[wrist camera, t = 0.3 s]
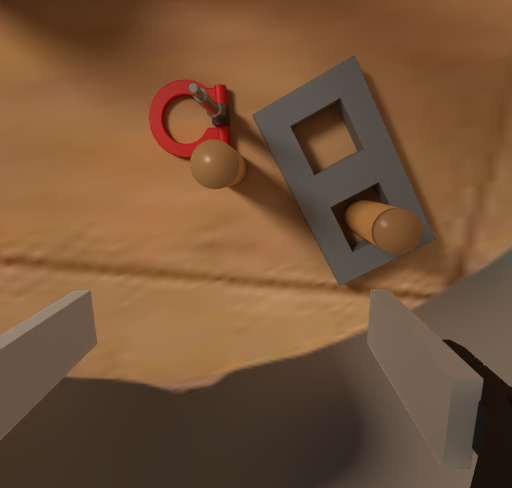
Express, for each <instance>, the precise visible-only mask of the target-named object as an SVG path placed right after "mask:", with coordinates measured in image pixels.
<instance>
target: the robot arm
mask: <svg viewBox="0 0 512 488" xmlns="http://www.w3.org/2000/svg"><path fill="white" fill-rule="evenodd" d="M96 344H97V337H96V330H95V322H94V315H93V307H92V299H91V292H90V290H74V291H73V292H71V293H69V294H68V295H66V296H64V297H63V298H61V299H59V300H58V301H56V302H54V303H53V304H51V305H49V306H48V307H46V308H44V309H43V310H41V311H39V312H38V313H36V314H34V315H33V316H31V317H29V318H28V319H26V320H24V321H23V322H21V323H19V324H18V325H16V326H14V327H13V328H11V329H9V330H8V331H6V332H4V333H3V334H1V335H0V440H1V439H2V438H3V437H4V436H5V435H6V434H7V433H8V432H9V431H10V430H11V429H12V428H13V427H14V426H15V425H16V424H17V423H18V422H19V421H20V420H21V419H22V418H23V417H24V416H25V415H26V414H27V413H28V412H29V411H30V410H31V409H32V408H33V407H34V406H35V405H36V404H37V403H38V402H39V401H40V400H41V399H42V398H43V397H44V396H45V395H46V394H47V393H48V392H49V391H50V390H51V389H52V388H53V387H54V386H55V385H56V384H57V383H58V382H59V381H60V380H61V379H62V378H63V377H64V376H65V375H66V374H67V373H68V372H69V371H70V370H71V369H72V368H73V367H74V366H75V365H76V364H77V363H78V362H79V361H80V360H81V359H82V358H83V357H84V356H85V355H86V354H87V353H88V352H89V351H90V350H91V349H92V348H93V347H94V346H95V345H96ZM367 344H368V346H369V348H370V349H371V351H372V353H373V354H374V356H375V358H376V359H377V361H378V363H379V364H380V366H381V368H382V369H383V371H384V373H385V374H386V376H387V378H388V379H389V381H390V383H391V384H392V386H393V388H394V389H395V391H396V393H397V394H398V396H399V397H400V399H401V401H402V403H403V404H404V406H405V408H406V409H407V411H408V413H409V414H410V416H411V418H412V419H413V421H414V422H415V424H416V426H417V428H418V429H419V431H420V433H421V434H422V436H423V438H424V439H425V441H426V443H427V444H428V446H429V448H430V449H431V451H432V453H433V454H434V456H435V458H436V459H437V461H438V462H439V464H440V466H441V468H467V469H469V468H470V467H471V460H472V454H473V450H474V451H475V452H476V454H477V455H478V459H477V463H476V467H475V471H474V475H473V479H472V482H471V487H470V488H512V387H510V386H508V385H507V384H506V383H505V382H504V381H503V380H502V379H500V378H499V377H498V376H497V375H496V374H495V373H493V372H492V371H491V370H490V369H489V368H488V367H487V366H485V365H483V363H482V362H481V361H479V360H478V359H477V358H475V357H474V355H472V354H471V353H470V352H469V351H468V350H467V349H466V348H465V347H463V346H461V345H459V344H457V343H455V342H453V341H451V340H441V339H440V338H439V337H438V336H437V335H436V334H435V333H434V332H433V331H432V330H430V329H429V328H428V327H427V326H426V325H425V324H424V323H423V322H422V321H421V320H420V319H419V318H418V317H417V316H416V315H414V313H412V312H411V311H410V310H409V309H408V308H407V307H406V306H405V305H404V304H403V303H402V302H401V301H400V300H399V299H398V298H396V297H395V296H394V295H393V294H392V293H391V292H390V291H389V290H388V289H371V293H370V308H369V324H368V341H367Z"/></svg>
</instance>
